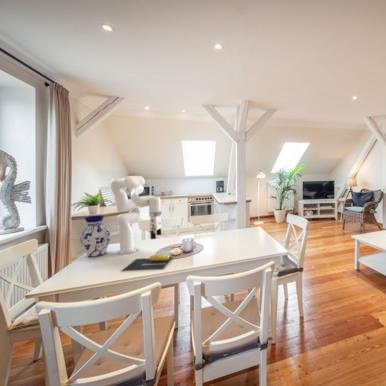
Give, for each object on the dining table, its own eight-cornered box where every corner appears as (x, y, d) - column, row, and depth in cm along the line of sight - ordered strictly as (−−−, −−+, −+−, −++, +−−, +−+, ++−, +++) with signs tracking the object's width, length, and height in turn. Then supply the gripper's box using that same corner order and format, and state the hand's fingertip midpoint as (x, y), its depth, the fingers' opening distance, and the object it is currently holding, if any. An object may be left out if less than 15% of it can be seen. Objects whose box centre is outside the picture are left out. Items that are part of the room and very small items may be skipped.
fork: (141, 266, 154) (141, 265, 154) (142, 264, 156) (142, 263, 156) (164, 265, 156) (164, 264, 156) (166, 263, 158) (166, 263, 158)
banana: (172, 257, 167) (171, 253, 165) (170, 261, 163) (169, 257, 161) (150, 258, 165) (149, 254, 163) (148, 262, 161) (147, 258, 159)
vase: (81, 261, 162) (78, 221, 159) (80, 254, 176) (77, 216, 173) (113, 254, 175) (110, 217, 172) (110, 248, 189) (107, 213, 186)
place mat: (136, 259, 166) (136, 259, 166) (172, 258, 169) (172, 257, 169) (121, 271, 146) (121, 270, 146) (162, 269, 149) (162, 269, 149)
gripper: (155, 216, 153) (156, 240, 155) (165, 211, 170) (165, 233, 172) (144, 216, 152) (145, 240, 154) (154, 211, 169) (155, 233, 171)
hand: (156, 236), depth 163 cm, fingers open, 9 cm apart
